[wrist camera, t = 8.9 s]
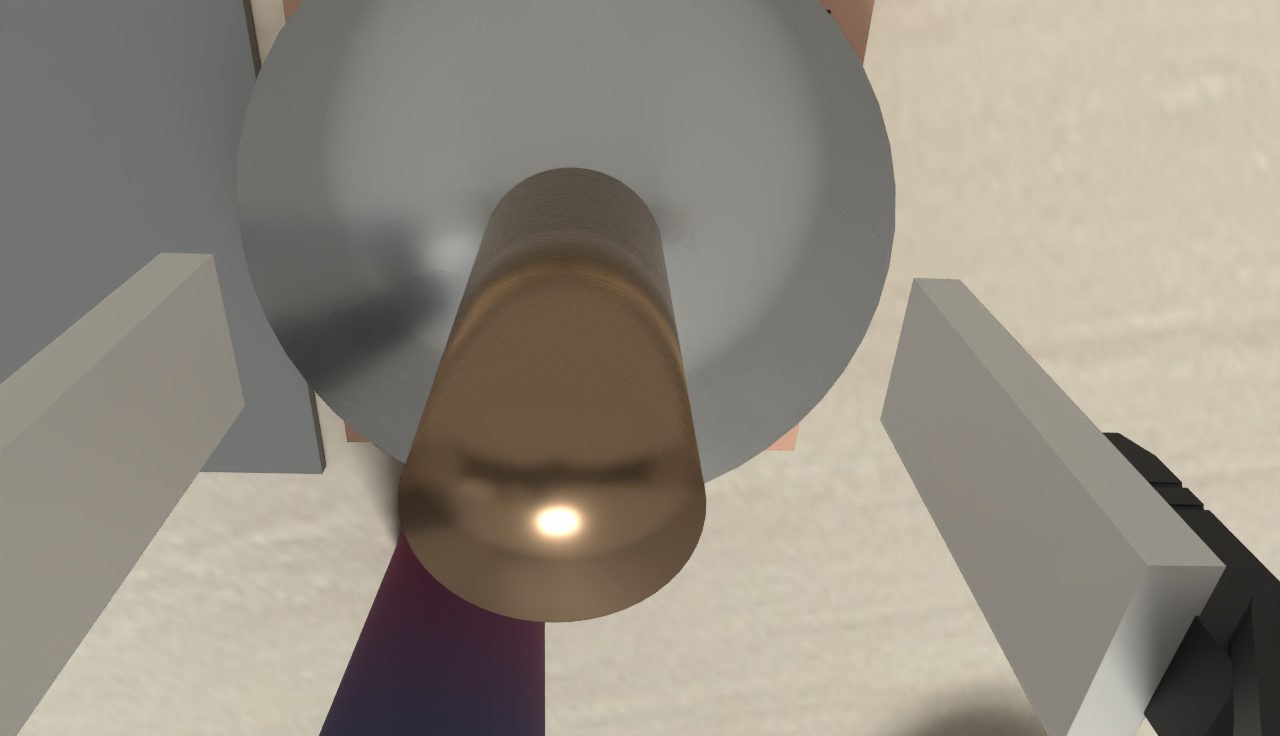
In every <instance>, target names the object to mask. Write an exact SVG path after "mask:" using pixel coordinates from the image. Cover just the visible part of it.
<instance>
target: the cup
mask: <svg viewBox="0 0 1280 736" xmlns="http://www.w3.org/2000/svg"><path fill="white" fill-rule="evenodd" d="M319 736H545V622H537V621H529V620H522V619H516V618H512V617H508V616H504V615H500V614H497V613H494V612H491V611H488V610H486V609H483V608H480V607H478V606H476V605H474V604H472V603H470V602H468V601H466V600H464V599H463V598H461V597H459V596H458V595H456V594H454V593H453V592H451V591H450V590H449V589H447V588H446V587H445V586H443V585H442V584H441V583H440V582H438V581H437V580H436V579H435V578H434V577H433V576H432V575H431V574H430V573H429V572H428V571H427V570H426V569H425V568H424V566H423V565H422V564H421V562H420V561H419V560H418V558H417V557H416V556H415V554H414V552H413V550H412V549H411V547H410V545H409V543H408V541H407V539H406V536H405V533H404V531H403V532H402V534H401V536H400V539H399V541H398V544H397V546H396V548H395V551H394V553H393V556H392V558H391V561H390V563H389V566H388V568H387V571H386V573H385V575H384V578H383V580H382V583H381V585H380V588H379V590H378V593H377V595H376V597H375V600H374V602H373V605H372V607H371V610H370V612H369V615H368V617H367V619H366V622H365V624H364V627H363V629H362V632H361V634H360V637H359V639H358V642H357V644H356V646H355V649H354V651H353V654H352V656H351V659H350V661H349V664H348V666H347V668H346V671H345V673H344V676H343V678H342V681H341V683H340V686H339V688H338V690H337V693H336V695H335V698H334V700H333V703H332V705H331V708H330V710H329V713H328V715H327V717H326V720H325V722H324V725H323V727H322V730H321V732H320V735H319Z"/></svg>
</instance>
